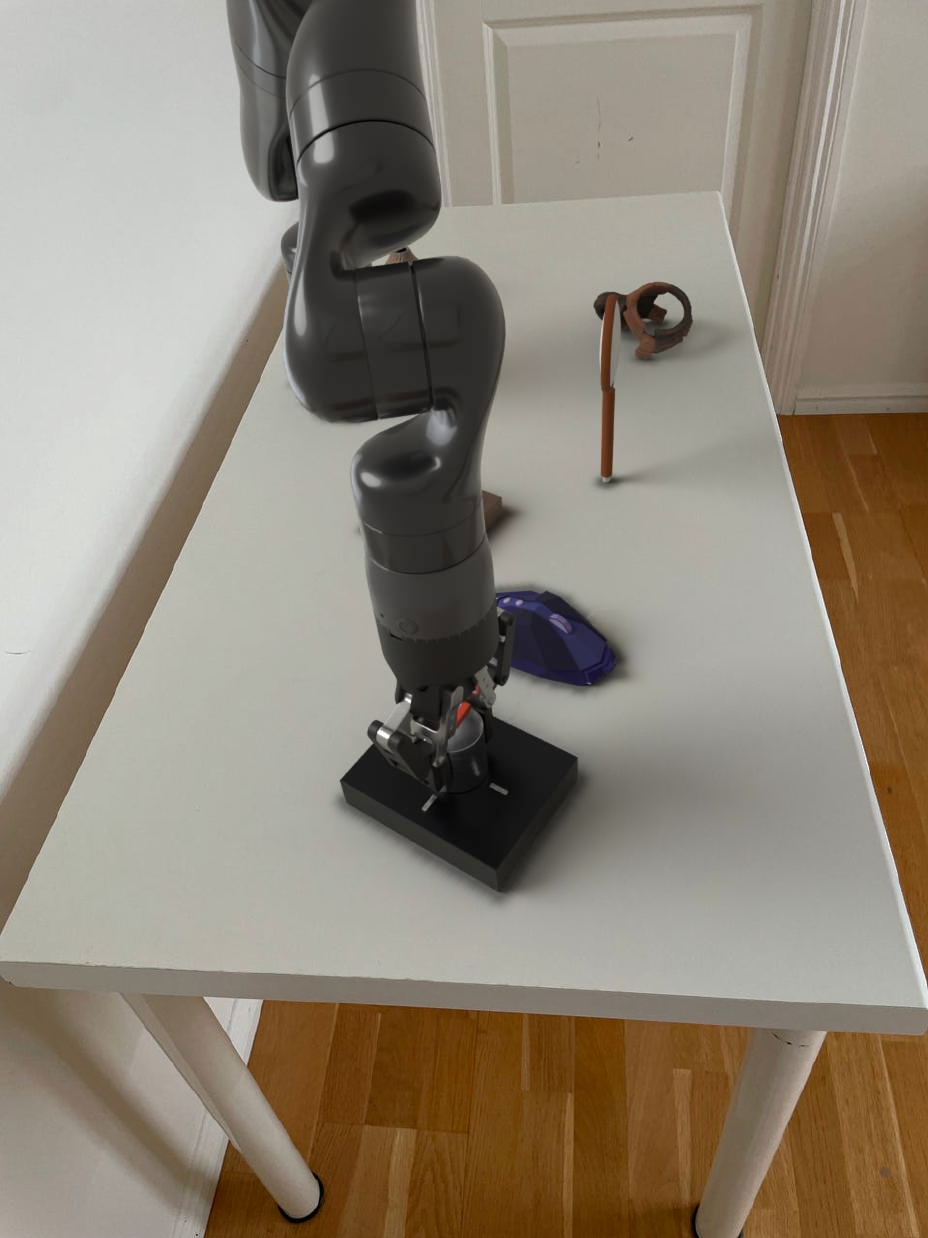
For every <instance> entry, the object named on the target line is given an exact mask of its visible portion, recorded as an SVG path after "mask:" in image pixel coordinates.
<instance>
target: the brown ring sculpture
mask: <svg viewBox="0 0 928 1238" xmlns="http://www.w3.org/2000/svg"><path fill="white" fill-rule="evenodd" d="M611 294H615V295H618V297H619V311H620V325H621V331H623V330H624V329H625V328H626V327H627V326H628V327H629V329H630V331H631V332H632V334H633V336H634V337H636V338H637V339H638V341H639V343H638V347H637V348H636V349H635V356H636V357H638V358H639V359H642V360H645V361H647V360H648V359H649V358H651V357H652V356H653V354H654V355H659V354H661V353H663V352H665V351H667V350H670V349H672V348H674V347H676V346H678V345H679V344H681V343H682V342H683V341H684V337H687V336H688V335H689V332H690V331H691V330H690V329H691V327H692V325H693V323H694V319H693V314H692V312H693V311H692V309H693V308H692V305H691V301H690V299H689V296H688V295H687V294H686V292H685V291H684V290H682V289H681V288H680V287H678V286H676V285H674V284H673V283H669V282H664V281H653V282H648V283H645V284H642V285H641V286H639V288H636V289H634V290H633V291H632V292H630V293H627V294H622V293H619V292H616V291H605V292H602V293H600V294H599V295H597V297H596V299H595V300H594V302H593V307H592V308H594V311H595V314H596V316H597V317H598V318H599V320H601V321H602V322H603V317H604V313H605V307H606V301H607V298H608V296H609V295H611ZM666 294H670V295H672V296H674V297H675V298H676V299H677V301H679V302H680V304H681V306H682V309H683V317H682V319H681V320H680V322H679V323H677V324H676V325H674V326H672V327H669V328H654V334H651V333H649V332H647V330H646V328H647V325H648V324H647V323H646V322H645V320H649V321H653V322H656V323H659V324H662V323H663V322H664V320H665V317H666V315H667V314H668V309H666V308H663V307H661V306H660V305H658V304H656V303H655V302H656V300H657V298H658V297H659V296H663V295H666Z"/></svg>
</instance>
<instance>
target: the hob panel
mask: <svg viewBox="0 0 928 1238" xmlns="http://www.w3.org/2000/svg"><path fill="white" fill-rule="evenodd" d="M492 730H493V737H492V738H491V739H490V741H489V742H488V743H487V744H485V745H486V754H487V762H488V771H487V774H486V776H485V778H484V780H483V781H482V782H481V783H480V784H479V785H478V786H477V787H475V788H474V789H472V790H469V791H466V792H462V793H451V792H447V793H444V792H442V791H439V793H438V792H436V791H434V790H433V789H431V788H429V787H427V786H425V785H424V784H422V783H421V782H420V781H419V780H417V779H415V778H414V777H413V776H411V775H410V774H408V773H406V772H404V771H402V770H401V769H397V768H395V767H394V766H392V765H391V764H390V763H389V762H388V760H387V759H386V758H385V757H384V755H383V754H382V753H381V752H380V751H379V749H378V748H377V747H376V746H375V744H374V743H373V742H372V744H371V745H370V746H369V747H368V748H367V749H366V751H364V752H363V754H362V755H361V756H360V757H359V758H358V759H357V760H356V762H354V764H353V765H352V766H351V767H350V768H349V769H348V770H347V772H346V773H345V774H344V775H343V776H342V777H341V778H340V779H339V782H340V786H341V790H342V794H343V797H344V798H345V802H346V804H348V805H349V806H351V807H353V808H355V809H356V810H358V811H359V812H361V813H363V814H365V815H367V816H368V817H370V818H371V819H373V820H374V821H376V822H379V823H380V824H382V825H384V826H385V827H386V828H389V829H390V830H392V831H394V832H395V833H397V834H399V835H401V836H403V837H404V838H405V839H407V840H409V841H411V842H412V843H415V845H418V846H419V847H421V848H423V849H425V850H426V851H428V852H430V853H431V854H433V855H434V856H437V857H438V858H439V859H442V861H445V862H447V863H448V864H450V865H452V866H453V867H455V868H456V869H459V870H460V871H462V872H464V873H465V874H467V875H468V876H470V877H472V878H474V879H476V880H477V881H479V882H481V883H482V884H485V885H486V886H488V887H489V888H491V889H493V890H494V891H496V892H497V893H499V892H500V891H501V889H502V888H503V887H504V886H505V884H506V882H507V881H508V879H509V878H510V877H511V875H513V872H514V871H515V870H516V868H517V867H519V865H520V864H521V862H522V860H523V858H524V857H525V856H526V855H527V853H528V851H529V850H530V849H531V847H532V846H533V844H534V843H535V841H536V840H537V839H538V838H539V836H540V835H541V833H542V831H544V830H545V827H546V826H547V825H548V823H549V822H550V821H551V819H552V818H553V816H554V815H555V813H556V812H557V811H558V810H559V808H560V807H561V805H562V803H563V802H564V801H565V799H566V798H567V796H568V795H569V794H570V792H571V791H572V789H573V788H574V787H575V785H576V784H577V782H578V781H579V757H578V756H576V755H574V754H573V753H570V752H568V751H566V750H564V749H562V748H560V747H558V746H556V745H554V744H552V743H550V742H548V741H546V740H544V739H541V738H539V737H537V736H535V735H534V734H531V733H530V732H527V731H525V730H523V729H521V728H519V727H517V726H515V725H513V724H511V723H508V722H507V721H504V720H503V719H500V718H498V717H496V716H494V715H493V726H492Z"/></svg>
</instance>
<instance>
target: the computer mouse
mask: <svg viewBox="0 0 928 1238" xmlns="http://www.w3.org/2000/svg"><path fill="white" fill-rule="evenodd" d="M496 604H497V607H499V608H501V609H503V610H506V611H508V612H510V613H513V614H515V615H516V626H515V634H514V642H513V650H512V658H511V666H510V668H513V669H515V670H517V671H521V672H524V673H526V674H529V675H532V676H534V677H538V678H541V679H545V680H550V681H555V682H560V683H565V684H568V685H574V686H582V685H583V686H584V685H586V684H587V685H588V684H589V685H592V684H593V683H595V682H597V681H599V679H602V677H603V676H604V675H606V674H610V673H611V672H612V671H613V670H614V669H615V668H616V666H617V664H616V663H615V661H616V659H617V654H615V652H614V650H613V649H612V648H611V647H609V646H608V644H607V642H608V638H607V637H605V636H604V635H603V634H602V633H601V631H599V630H598V629H597V628H596V627H595V626H594V625H593V624H592V623H591V622H590V621H589V620H588V619H587V618H586V617H585V616H584V615H582V614H581V613H580V612H579V611H578V610H576V609H575V608H574V607H573V606H572V605H571V604H569V602H567V601H566V600H565V599H564V598H562V597H561V596H559V595H557V594H555V593H553V592H551V591H548V590H545V591H544V592H542V593H539V592H536V591H534V590H517V591H505V592H502V591H501V592H496ZM492 658H493V659H494V660H496V661H497V659H496V658H495V657H494V656H493V657H492Z"/></svg>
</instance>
